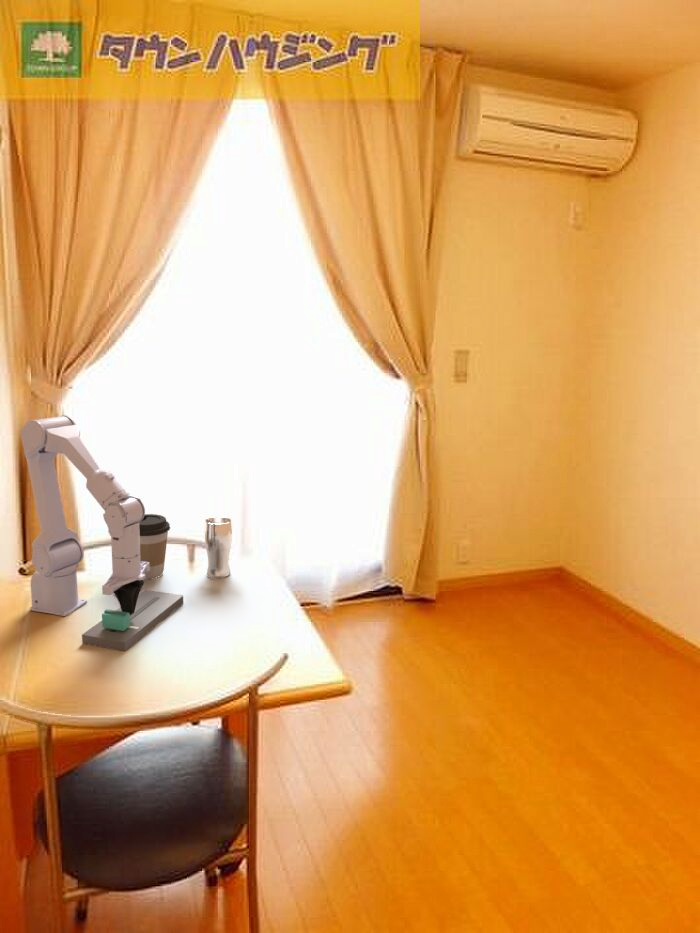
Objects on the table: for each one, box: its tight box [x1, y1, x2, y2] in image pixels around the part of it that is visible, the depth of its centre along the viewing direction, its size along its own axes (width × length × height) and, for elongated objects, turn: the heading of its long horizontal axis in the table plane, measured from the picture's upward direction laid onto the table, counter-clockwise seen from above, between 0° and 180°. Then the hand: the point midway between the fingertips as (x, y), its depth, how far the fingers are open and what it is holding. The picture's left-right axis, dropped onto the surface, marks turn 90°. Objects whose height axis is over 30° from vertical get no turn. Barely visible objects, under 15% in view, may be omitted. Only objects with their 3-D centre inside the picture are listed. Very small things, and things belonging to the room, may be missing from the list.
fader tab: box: [101, 609, 130, 631], centre depth 137 cm, size 5×2×3 cm, turn 76°
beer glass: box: [204, 515, 233, 579], centre depth 172 cm, size 7×7×15 cm
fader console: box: [81, 589, 184, 652], centre depth 145 cm, size 10×24×2 cm, turn 166°
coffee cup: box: [139, 513, 171, 580], centre depth 170 cm, size 11×11×15 cm
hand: (128, 613), depth 142 cm, fingers closed
